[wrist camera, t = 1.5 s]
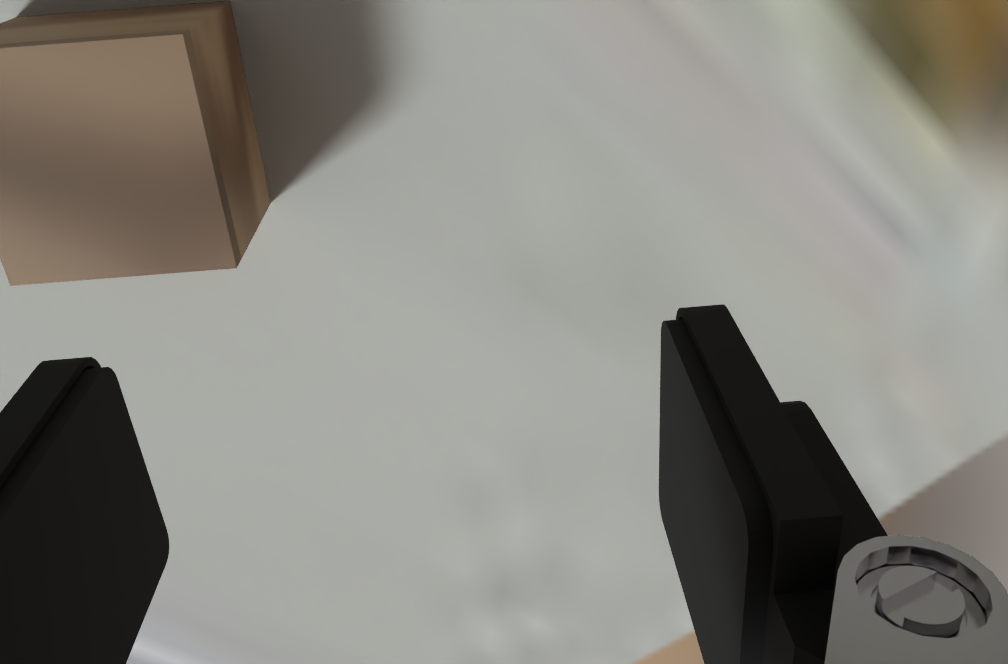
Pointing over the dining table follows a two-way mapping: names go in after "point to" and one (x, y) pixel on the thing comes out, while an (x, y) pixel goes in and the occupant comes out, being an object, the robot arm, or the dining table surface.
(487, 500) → the dining table surface
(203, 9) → the block
